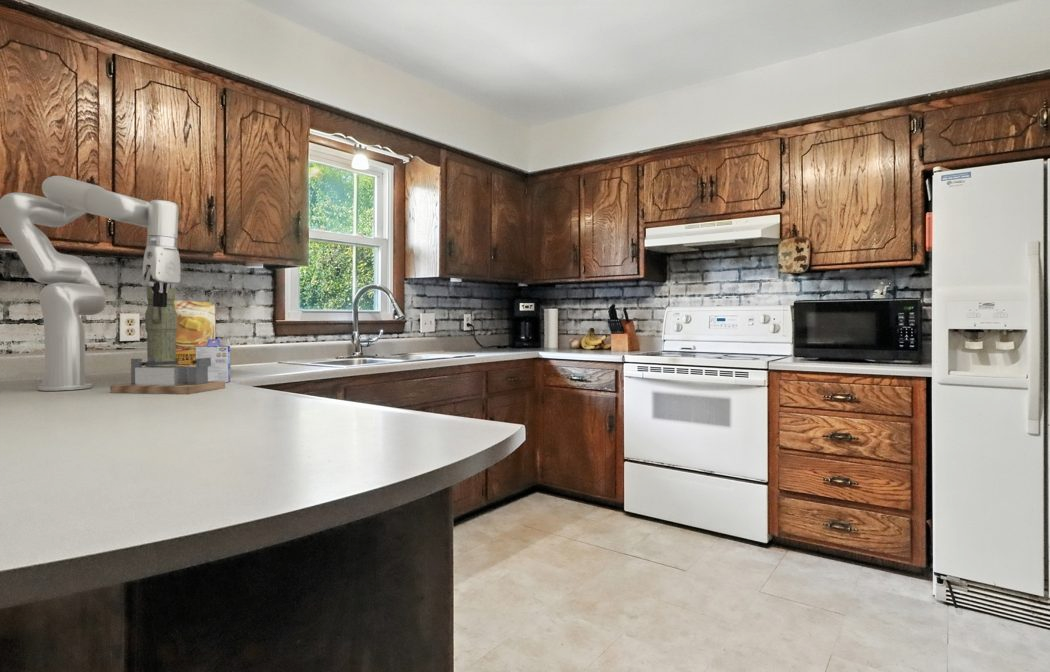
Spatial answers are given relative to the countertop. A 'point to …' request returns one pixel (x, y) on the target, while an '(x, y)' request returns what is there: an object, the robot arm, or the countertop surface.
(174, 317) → the green stone totem
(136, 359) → the hinge bracket
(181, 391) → the wooden board
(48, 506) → the countertop surface
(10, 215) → the robot arm
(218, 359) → the ink cartridge box
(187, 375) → the heat sink
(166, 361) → the retention strap
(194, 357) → the pancake mix bag
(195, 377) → the lug
